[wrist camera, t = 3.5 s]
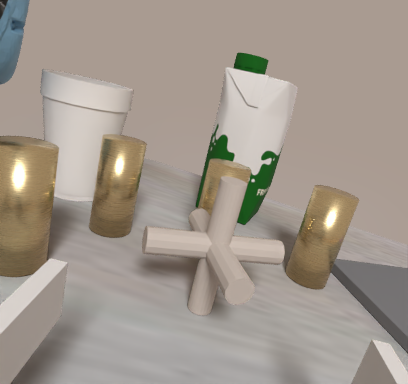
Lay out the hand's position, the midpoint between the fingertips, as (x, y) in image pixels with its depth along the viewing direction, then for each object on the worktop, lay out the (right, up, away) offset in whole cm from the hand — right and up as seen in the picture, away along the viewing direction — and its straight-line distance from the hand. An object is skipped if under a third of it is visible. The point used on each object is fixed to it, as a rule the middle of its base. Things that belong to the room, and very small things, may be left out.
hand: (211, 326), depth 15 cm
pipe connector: (-1, -3, +11) cm, 11 cm away
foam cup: (-16, +6, +27) cm, 31 cm away
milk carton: (+3, +3, +33) cm, 34 cm away
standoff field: (-2, 0, +17) cm, 17 cm away
